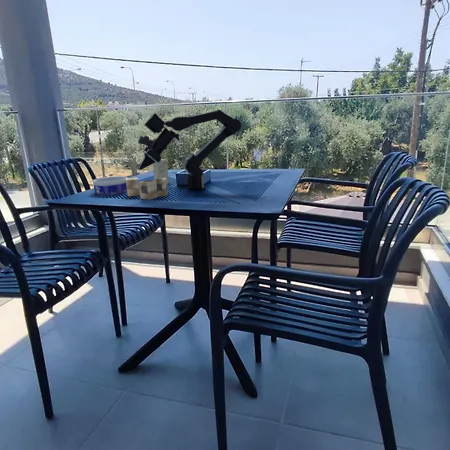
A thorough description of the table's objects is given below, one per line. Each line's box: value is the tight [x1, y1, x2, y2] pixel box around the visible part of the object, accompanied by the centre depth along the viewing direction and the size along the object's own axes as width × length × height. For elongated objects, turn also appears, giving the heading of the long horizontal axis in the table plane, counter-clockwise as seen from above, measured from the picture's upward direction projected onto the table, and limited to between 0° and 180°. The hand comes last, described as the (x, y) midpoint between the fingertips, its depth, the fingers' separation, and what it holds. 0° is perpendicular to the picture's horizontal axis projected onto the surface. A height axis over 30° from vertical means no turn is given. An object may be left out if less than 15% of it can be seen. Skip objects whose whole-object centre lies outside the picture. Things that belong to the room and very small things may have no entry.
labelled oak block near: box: [138, 179, 159, 201], centre depth 147 cm, size 5×5×7 cm
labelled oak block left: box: [152, 178, 169, 197], centre depth 152 cm, size 5×5×7 cm
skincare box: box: [151, 158, 170, 185], centre depth 176 cm, size 6×4×12 cm
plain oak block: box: [126, 177, 140, 197], centre depth 155 cm, size 5×5×7 cm
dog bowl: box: [92, 175, 128, 196], centre depth 165 cm, size 15×15×6 cm
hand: (139, 169), depth 154 cm, fingers closed
